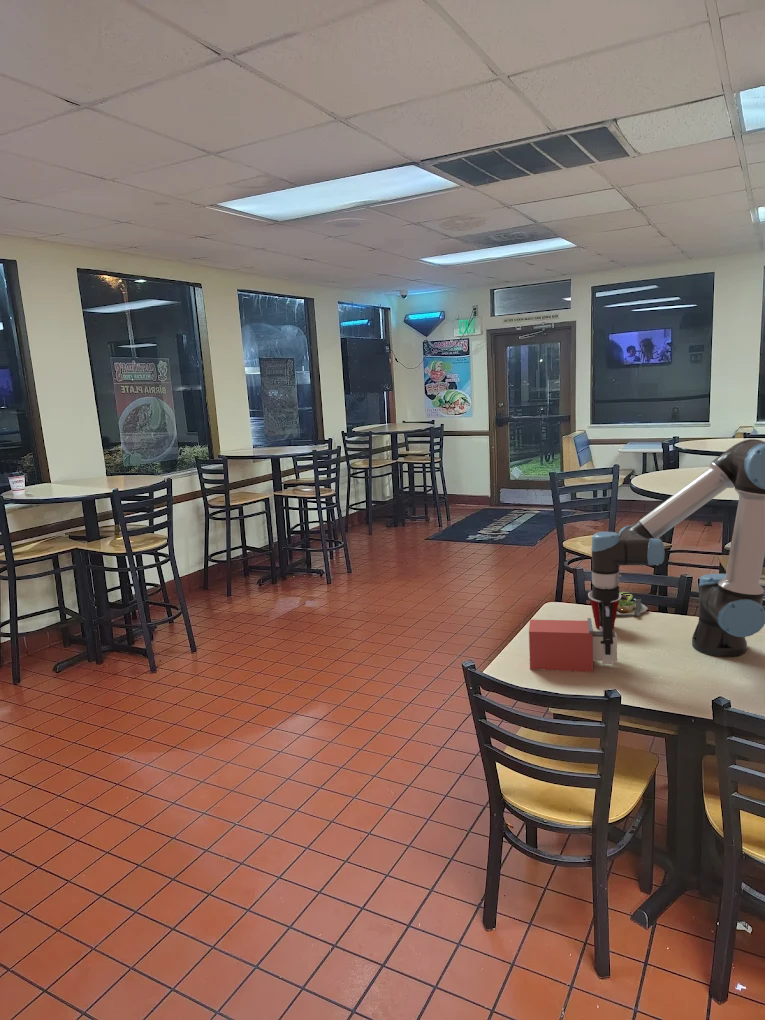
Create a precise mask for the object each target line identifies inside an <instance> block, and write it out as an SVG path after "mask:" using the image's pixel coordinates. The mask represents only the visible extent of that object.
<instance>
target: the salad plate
mask: <svg viewBox="0 0 765 1020" xmlns="http://www.w3.org/2000/svg"><path fill="white" fill-rule="evenodd" d="M619 593H620V594H623V593H631V592H629V591H619ZM626 595H630V596H626ZM622 599H627V600H622ZM633 600H635V601H633ZM621 609H623V610H621ZM646 611H648V607H647V606H646V605H645V604H643V603H642V599H641V598H640V599H636V598H635V597H634V595H633V594H632V593H631V594H623V595H622V596H621V599H620V601H619V604H618V609H617V614H616V618H618V617H619V618H624V617H639V616H640V615H641V614H643V613H645V612H646ZM618 612H619V613H618Z"/></svg>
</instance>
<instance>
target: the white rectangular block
mask: <svg viewBox="0 0 765 1020" xmlns="http://www.w3.org/2000/svg"><path fill="white" fill-rule="evenodd" d="M606 640H610V639H606ZM601 641H603V631H600V630H599V631H598V630H597V631H596V630H593V662H597V661H599V662H603V648H602V644H601ZM613 662H618V635H617V631H613Z"/></svg>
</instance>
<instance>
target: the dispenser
mask: <svg viewBox="0 0 765 1020" xmlns="http://www.w3.org/2000/svg"><path fill="white" fill-rule="evenodd" d="M593 631H594V628H593V621H592V618H591V617H587V620H570V619H569V620H568V619H529V627H528V640H529V641H528V643H529V644H528V646H529V647H528V648H529V670H530V669H545V670H544V671H555V670H559V671H560V672H580V673H581V672H585V673H587V672H588V673H593V672H594V661H593Z"/></svg>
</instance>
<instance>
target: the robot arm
mask: <svg viewBox="0 0 765 1020" xmlns="http://www.w3.org/2000/svg"><path fill="white" fill-rule="evenodd" d="M727 489H734V491H735V492H736V493H737V494H738V496H739V498H738V503H737V509H736V513H735V514H736V515H735V520H734V524H733V525H734V526H733V531H732V537H731V544H730V547H729V554H728V560H727V566H726V570H725V571H726V572H725V573H708V574H704V575H702V576H701V577H700V578H699V584H698V587H699V588H698V589H699V591H698V595H699V597H698V598H699V600H698V622H697V624H696V627H695V630H694V632H693V635H692V639H691V642H692V643H691V645H692V648H694V649H695V650H696V651H698V652H700V653H703V654H706V655H710V656H714V657H715V656H716V657H730V658H732V657H738V656H742V655H743V654H745V653H746V652H747V650H748V642H747V639H746V638H747V637H750V636H753V635H755V634H757V633H758V632H760V631H761V630H762V629H763V628H764V626H765V608H764V606H763V600H764V594H765V590H764V588H763V586H761V584H760V581H761V576H762V571H763V566H764V562H765V561H764V560H765V441H763V440H760V439H755V438H754V439H753V438H749V439H746V440H742V441H740V442H738V443H736V444H733V446H731V447H729V448H728V449H727V450H726V451H724V452H723V453H722V454H720V455H719V456H718V457H716V458H715V459H713V460H712V461H711V462H710V463H709V468H708V469H706V470H705V471H703V472H702V473H701V474H700V475H698V476H696V477H695V478H694V479H693V480H691V481H690V482H689V483H688V484H686V485H685V486H684V487H682V488H681V489H680V490H678V491H676V492H675V493H674V494H673V495H671V496H670V497H669V498H667V499H666V500H664V502H662V503H660V504H659V505H658V506H657V507H655V508H654V509H653V510H652V511H650V512H649V513H648V514H646V515H645V516H643V517H642V518H641V519H639V520H638V521H637V522H635V523H634V524H632V525H626V526H624V527H622V528H621V529H620V530H619V532H618V533H617V532H614V531H598V532H596V533H594V534H593V535H592V538H591V539H592V542H591V584H592V586H591V591H592V597H593V598H594V599H596V600H598V601H599V600H600V602H598V608H599V622H600V623H599V625H600V626H601V627H600V629H599V631H603V641H601V644H602V648H603V661H602V665H613V663H614V661H613V632H614V628H612V620H613V604H612V603H610V602H611V601H615V600H617V599H618V598H619V592H620V586H619V585H620V578H622V574H621V573H620V566H656V565H658V566H659V565H661V564H663V562H665V561H664V560H665V555H666V554H665V545H664V542H663V540H662V539H660V537H662V536H663V535H665V534H666V533H667V532H668V531H670V530H671V529H673V528H674V527H675V526H677V525H678V524H680V523H681V522H683V521H684V520H685V519H687V518H688V517H689V516H691V515H692V514H694V513H695V512H696V511H697V510H699V509H700V508H702V507H703V506H704V505H706V504H708V502H710V501H711V500H713V499H714V498H715V497H717V496H718V495H720V494H722V492H723V491H725V490H727ZM606 639H610V640H606Z"/></svg>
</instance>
